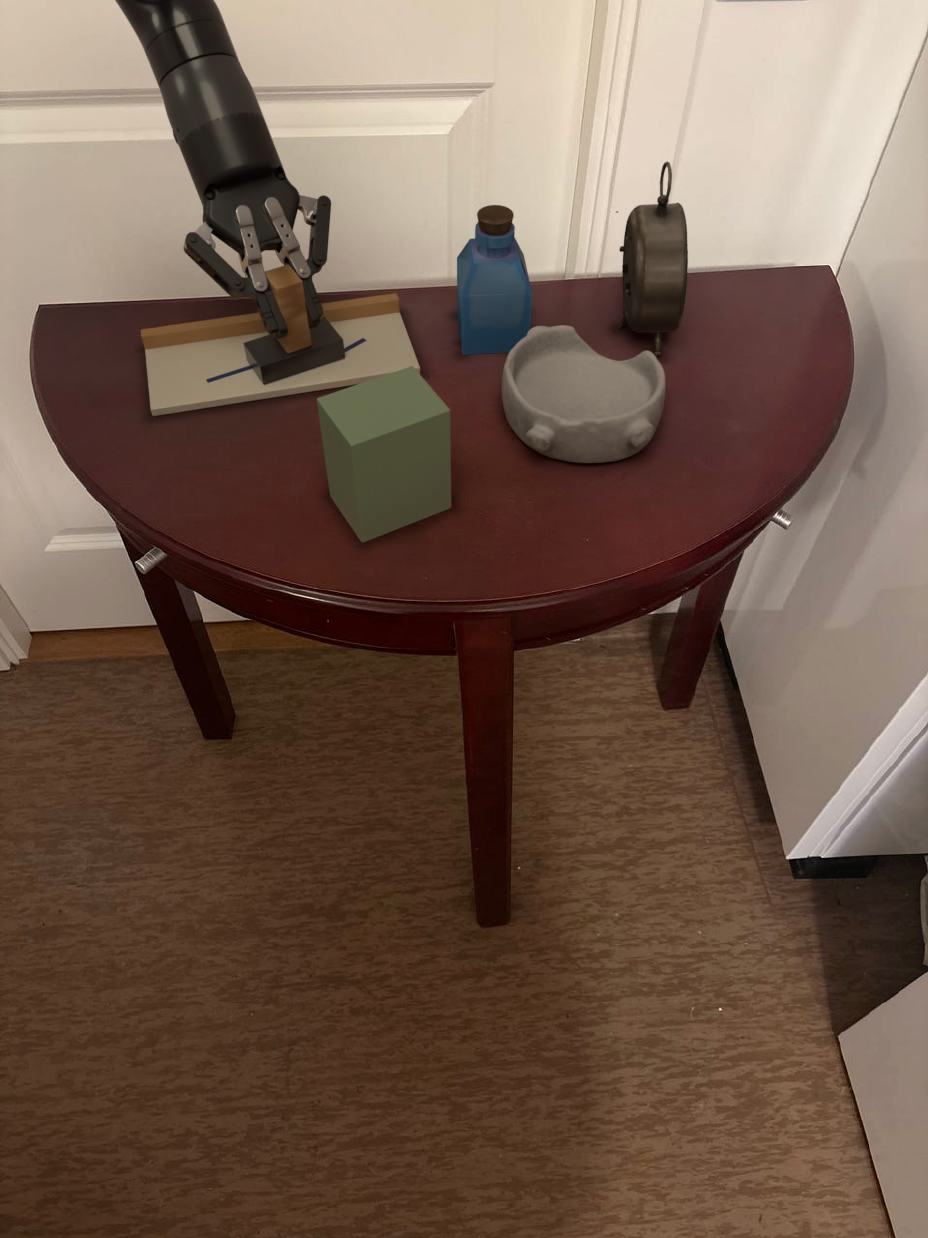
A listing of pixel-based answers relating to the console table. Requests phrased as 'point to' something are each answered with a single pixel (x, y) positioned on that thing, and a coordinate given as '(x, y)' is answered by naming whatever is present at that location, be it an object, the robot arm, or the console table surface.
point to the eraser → (292, 334)
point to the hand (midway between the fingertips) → (299, 329)
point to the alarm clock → (655, 266)
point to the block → (387, 452)
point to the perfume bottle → (492, 286)
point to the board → (220, 374)
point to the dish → (580, 397)
